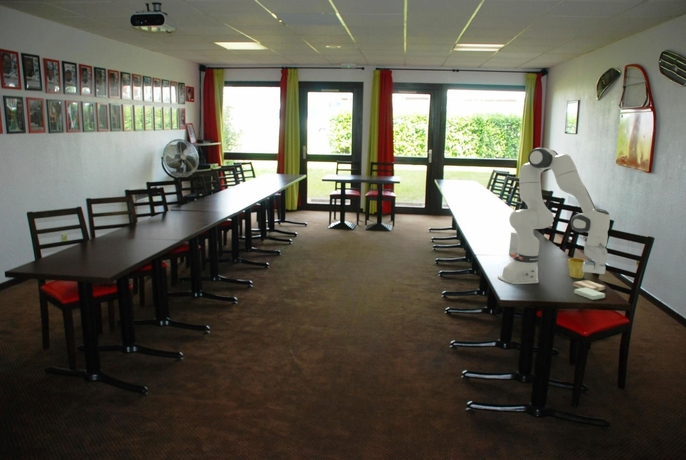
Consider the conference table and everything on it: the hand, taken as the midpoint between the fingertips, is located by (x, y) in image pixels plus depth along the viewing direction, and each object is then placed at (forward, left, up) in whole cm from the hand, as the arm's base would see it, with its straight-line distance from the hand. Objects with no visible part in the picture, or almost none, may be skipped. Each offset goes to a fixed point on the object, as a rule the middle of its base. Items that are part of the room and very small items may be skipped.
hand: (593, 268), depth 273 cm
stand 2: (0, 0, -14) cm, 14 cm away
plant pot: (+22, +26, -15) cm, 37 cm away
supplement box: (+27, +76, -15) cm, 82 cm away
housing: (0, 0, -2) cm, 2 cm away
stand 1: (+11, +9, -14) cm, 20 cm away
